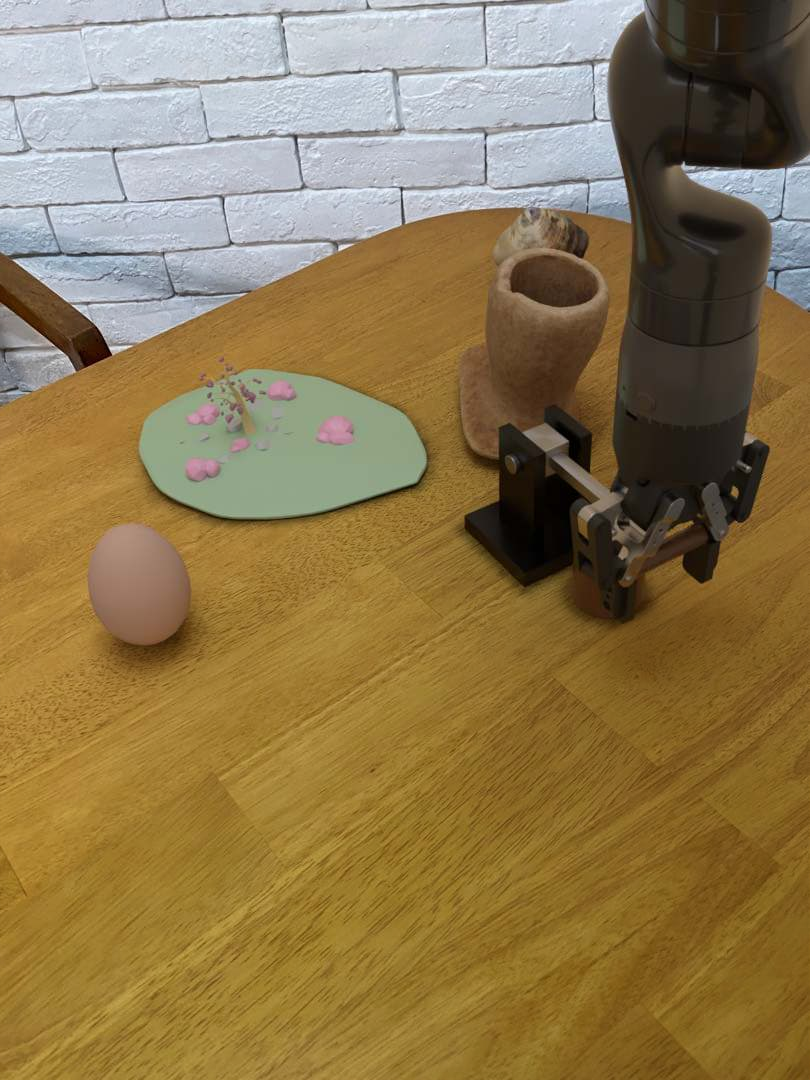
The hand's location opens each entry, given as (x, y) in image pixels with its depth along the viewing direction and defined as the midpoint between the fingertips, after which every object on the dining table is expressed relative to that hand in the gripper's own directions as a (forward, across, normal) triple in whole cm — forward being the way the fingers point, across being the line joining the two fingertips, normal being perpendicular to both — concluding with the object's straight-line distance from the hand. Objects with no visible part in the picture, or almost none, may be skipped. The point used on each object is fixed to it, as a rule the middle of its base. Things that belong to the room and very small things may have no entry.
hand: (657, 594), depth 75 cm
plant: (+4, +11, -35) cm, 37 cm away
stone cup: (+4, -8, -26) cm, 27 cm away
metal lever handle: (-3, 0, -7) cm, 7 cm away
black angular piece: (+4, 0, -13) cm, 13 cm away
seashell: (+4, -23, -45) cm, 51 cm away
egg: (+4, +29, -20) cm, 35 cm away
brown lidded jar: (+4, 0, -5) cm, 6 cm away
